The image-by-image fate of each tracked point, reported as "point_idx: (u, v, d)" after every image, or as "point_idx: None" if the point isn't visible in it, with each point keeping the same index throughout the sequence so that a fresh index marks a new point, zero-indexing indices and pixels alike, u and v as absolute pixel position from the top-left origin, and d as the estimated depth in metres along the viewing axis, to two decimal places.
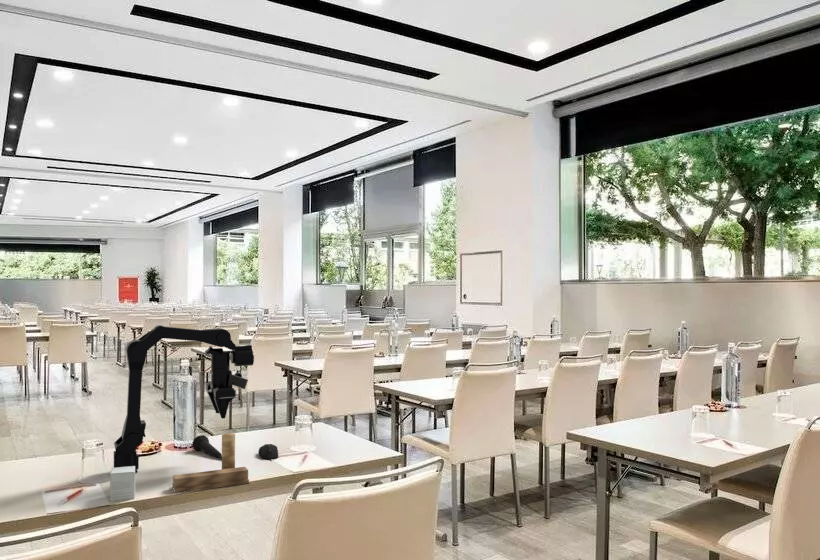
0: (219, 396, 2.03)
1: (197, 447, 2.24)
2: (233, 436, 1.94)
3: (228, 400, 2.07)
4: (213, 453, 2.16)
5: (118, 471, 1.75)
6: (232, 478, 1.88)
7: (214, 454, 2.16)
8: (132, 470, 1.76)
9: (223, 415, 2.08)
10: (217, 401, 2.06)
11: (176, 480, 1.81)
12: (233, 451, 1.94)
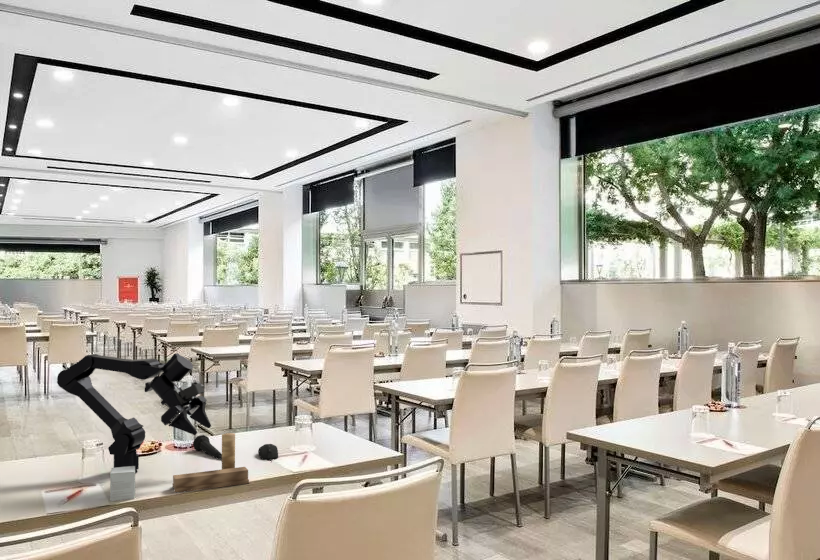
0: (165, 422, 1.88)
1: (198, 447, 2.24)
2: (233, 436, 1.94)
3: (182, 417, 1.90)
4: (213, 453, 2.17)
5: (118, 471, 1.75)
6: (232, 478, 1.88)
7: (214, 454, 2.16)
8: (132, 470, 1.76)
9: (193, 431, 1.91)
10: (174, 425, 1.91)
11: (176, 480, 1.81)
12: (233, 451, 1.94)
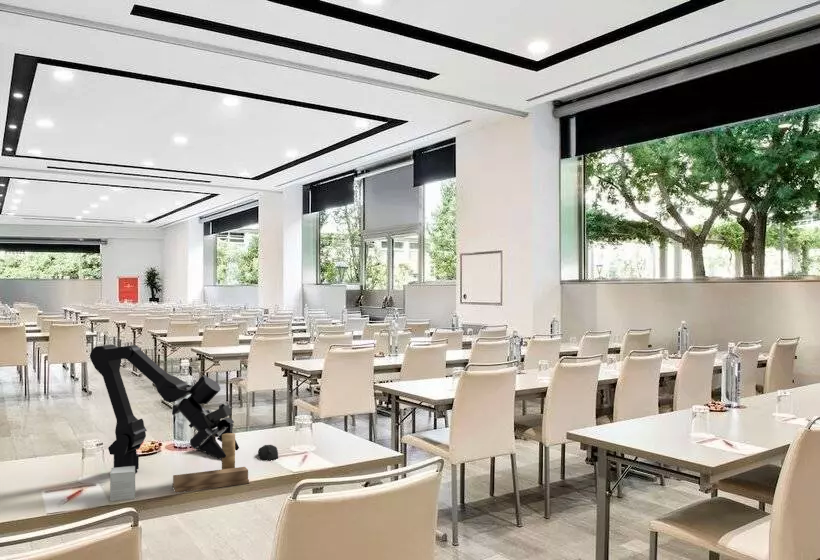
0: (194, 446, 1.87)
1: (198, 447, 2.24)
2: (233, 436, 1.94)
3: (211, 440, 1.89)
4: None
5: (118, 471, 1.75)
6: (232, 478, 1.88)
7: None
8: (132, 470, 1.76)
9: (222, 454, 1.90)
10: (203, 449, 1.89)
11: (176, 480, 1.81)
12: (233, 451, 1.94)
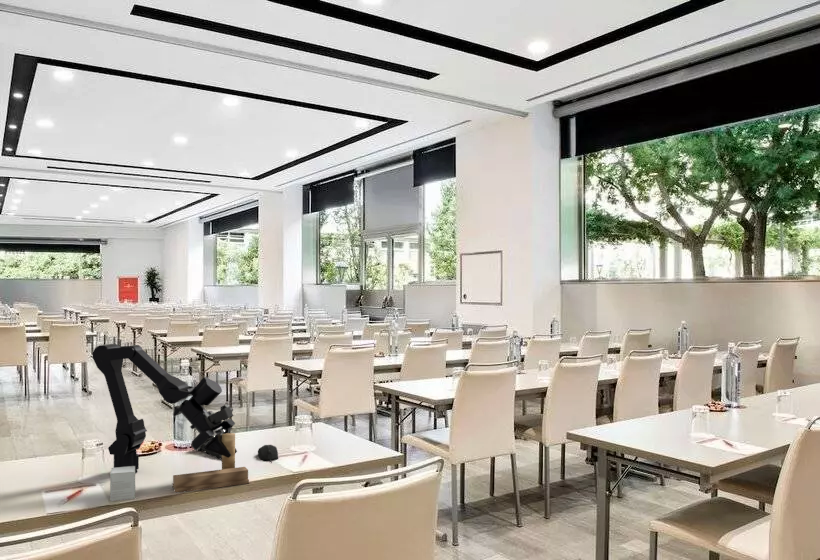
0: (196, 447, 1.87)
1: None
2: (233, 436, 1.94)
3: (216, 440, 1.92)
4: (214, 453, 2.17)
5: (118, 471, 1.75)
6: (232, 478, 1.88)
7: (215, 454, 2.16)
8: (132, 470, 1.76)
9: (227, 454, 1.93)
10: (208, 448, 1.92)
11: (176, 480, 1.81)
12: (233, 451, 1.94)
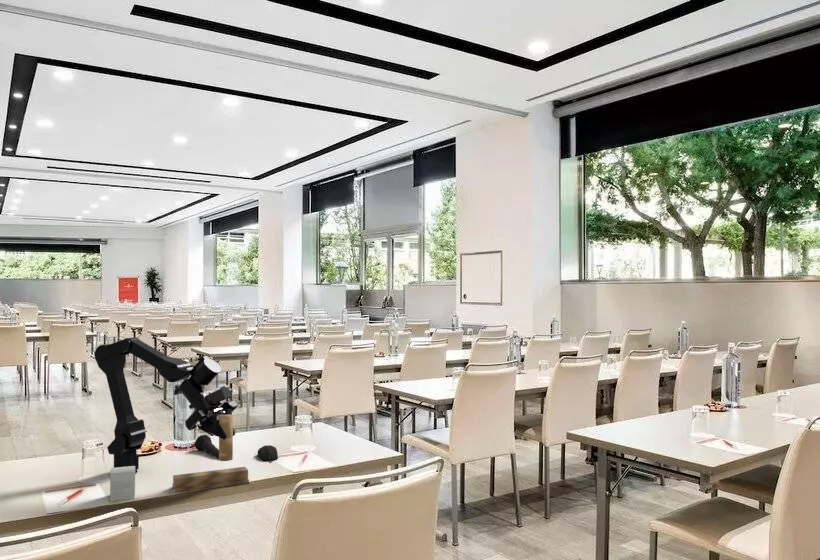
0: (189, 427, 1.82)
1: (199, 447, 2.24)
2: (230, 417, 1.88)
3: (212, 421, 1.86)
4: (214, 453, 2.17)
5: (118, 471, 1.75)
6: (232, 478, 1.88)
7: (215, 454, 2.16)
8: (132, 470, 1.76)
9: (222, 435, 1.86)
10: (204, 429, 1.87)
11: (176, 480, 1.81)
12: (230, 433, 1.88)
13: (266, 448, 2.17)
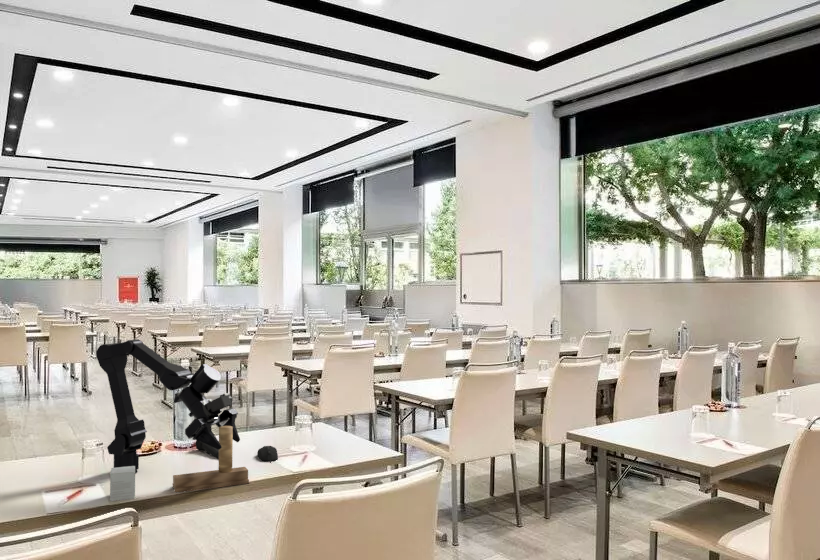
0: (188, 435, 1.82)
1: (200, 447, 2.24)
2: (230, 429, 1.88)
3: (206, 431, 1.83)
4: (215, 453, 2.17)
5: (118, 471, 1.75)
6: (232, 478, 1.88)
7: (215, 454, 2.16)
8: (132, 470, 1.76)
9: (217, 445, 1.84)
10: (199, 439, 1.84)
11: (176, 480, 1.81)
12: (230, 444, 1.88)
13: (266, 448, 2.16)
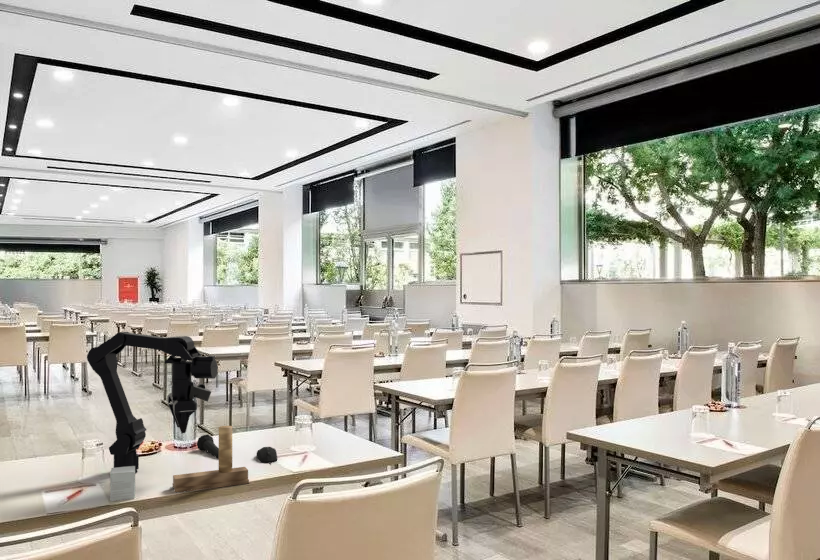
0: (178, 409, 1.90)
1: (201, 446, 2.25)
2: (229, 429, 1.88)
3: (189, 414, 1.94)
4: (215, 453, 2.17)
5: (118, 471, 1.75)
6: (232, 478, 1.88)
7: (216, 454, 2.16)
8: (132, 470, 1.76)
9: (184, 429, 1.94)
10: (176, 415, 1.92)
11: (176, 480, 1.81)
12: (229, 444, 1.88)
13: (265, 449, 2.15)
